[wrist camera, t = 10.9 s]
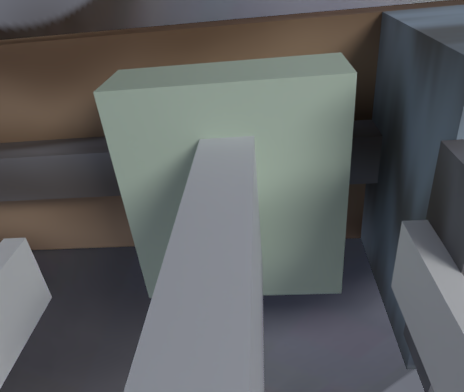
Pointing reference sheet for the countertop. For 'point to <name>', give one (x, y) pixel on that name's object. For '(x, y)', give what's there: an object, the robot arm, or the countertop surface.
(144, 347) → the block
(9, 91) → the rail bench
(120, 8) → the countertop surface
